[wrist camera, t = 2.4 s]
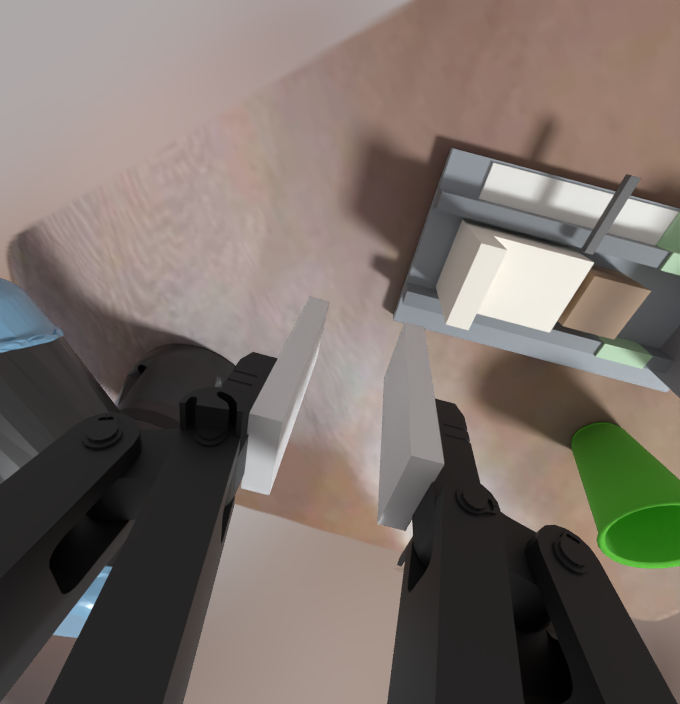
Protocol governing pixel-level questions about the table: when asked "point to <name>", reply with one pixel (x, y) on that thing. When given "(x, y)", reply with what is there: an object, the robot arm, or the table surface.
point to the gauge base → (568, 230)
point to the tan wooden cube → (603, 303)
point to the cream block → (517, 272)
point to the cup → (629, 497)
